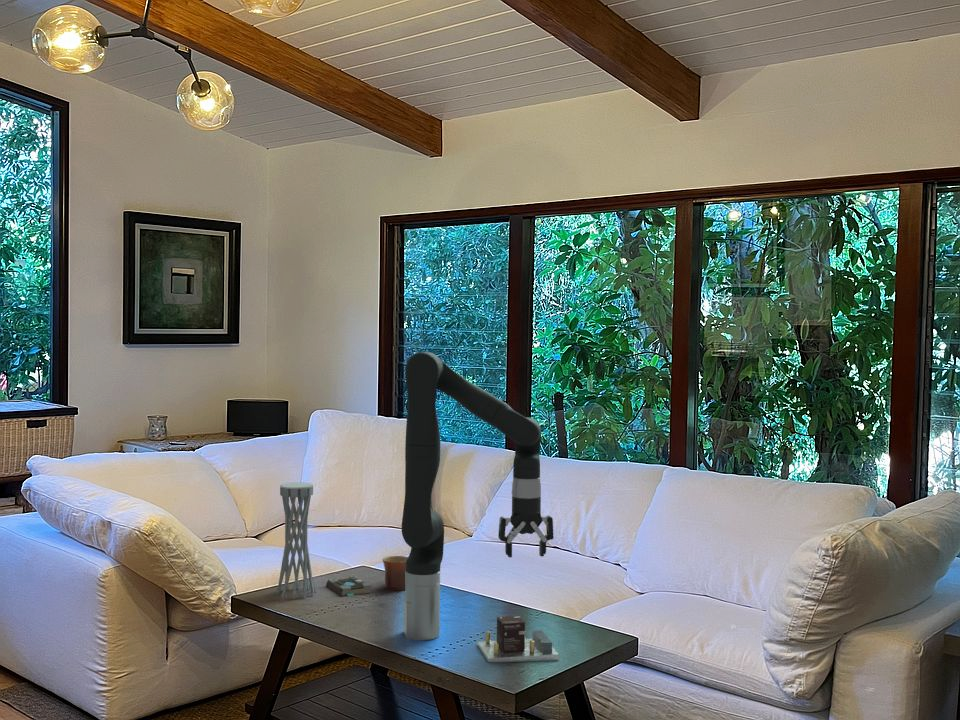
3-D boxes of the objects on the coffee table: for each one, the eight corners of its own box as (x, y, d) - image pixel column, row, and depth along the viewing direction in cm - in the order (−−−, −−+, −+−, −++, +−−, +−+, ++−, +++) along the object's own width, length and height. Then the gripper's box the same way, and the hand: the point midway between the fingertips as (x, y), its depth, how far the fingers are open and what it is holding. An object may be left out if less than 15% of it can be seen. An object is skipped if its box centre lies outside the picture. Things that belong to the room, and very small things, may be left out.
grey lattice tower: (306, 608, 282) (306, 489, 281) (264, 604, 286) (265, 487, 285) (325, 596, 295) (326, 482, 294) (286, 592, 299) (286, 480, 298)
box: (501, 652, 241) (502, 623, 241) (496, 645, 247) (496, 616, 247) (525, 651, 242) (525, 622, 242) (519, 643, 248) (519, 615, 248)
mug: (411, 594, 298) (412, 562, 298) (383, 595, 297) (383, 562, 296) (407, 584, 310) (407, 553, 310) (380, 585, 308) (380, 553, 308)
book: (385, 602, 291) (385, 585, 291) (347, 607, 285) (347, 590, 285) (358, 586, 308) (358, 571, 308) (322, 591, 302) (322, 575, 302)
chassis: (488, 664, 237) (488, 646, 237) (477, 647, 250) (477, 630, 249) (558, 660, 241) (558, 642, 240) (544, 643, 253) (544, 626, 253)
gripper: (502, 497, 247) (502, 560, 247) (556, 496, 249) (555, 558, 250) (496, 492, 254) (496, 554, 254) (549, 491, 257) (548, 552, 257)
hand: (525, 556), depth 252 cm, fingers open, 8 cm apart
